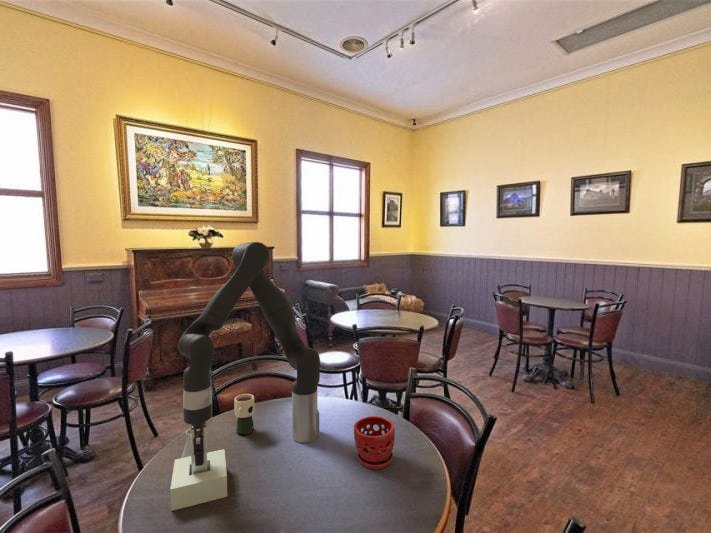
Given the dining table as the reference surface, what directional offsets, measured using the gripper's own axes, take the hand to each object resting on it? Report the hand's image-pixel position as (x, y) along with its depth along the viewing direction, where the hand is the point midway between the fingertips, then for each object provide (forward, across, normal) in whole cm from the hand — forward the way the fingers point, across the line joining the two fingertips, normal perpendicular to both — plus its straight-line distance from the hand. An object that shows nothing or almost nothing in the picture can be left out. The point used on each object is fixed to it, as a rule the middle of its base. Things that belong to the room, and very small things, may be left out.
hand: (199, 460), depth 103 cm
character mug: (+8, +27, -15) cm, 32 cm away
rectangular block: (+5, 0, 0) cm, 5 cm away
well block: (+8, 0, 0) cm, 8 cm away
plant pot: (+9, -8, -52) cm, 53 cm away
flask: (+8, +15, +3) cm, 17 cm away
